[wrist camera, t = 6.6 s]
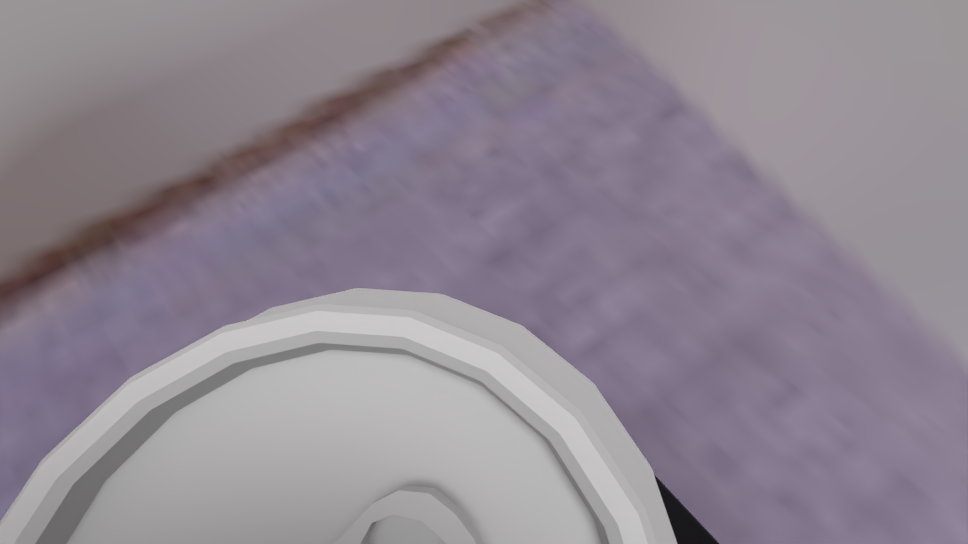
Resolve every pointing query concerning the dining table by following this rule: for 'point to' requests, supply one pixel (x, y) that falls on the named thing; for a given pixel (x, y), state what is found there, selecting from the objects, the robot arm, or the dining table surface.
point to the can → (349, 439)
